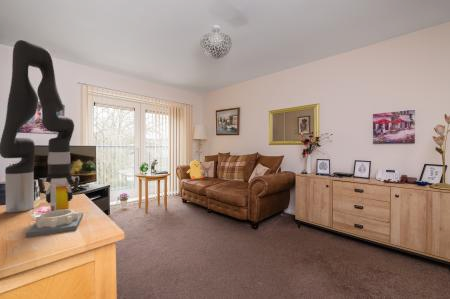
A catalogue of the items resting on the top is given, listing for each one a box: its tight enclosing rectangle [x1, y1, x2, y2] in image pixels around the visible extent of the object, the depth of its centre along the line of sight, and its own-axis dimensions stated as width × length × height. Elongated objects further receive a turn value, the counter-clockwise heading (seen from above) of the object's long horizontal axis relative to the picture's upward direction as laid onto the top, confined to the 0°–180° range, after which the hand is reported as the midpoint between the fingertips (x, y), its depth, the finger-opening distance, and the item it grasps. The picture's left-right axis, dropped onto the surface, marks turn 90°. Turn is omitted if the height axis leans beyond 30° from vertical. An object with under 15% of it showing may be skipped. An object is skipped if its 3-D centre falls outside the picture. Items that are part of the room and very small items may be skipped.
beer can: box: [49, 178, 70, 212], centre depth 88 cm, size 6×6×15 cm
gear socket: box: [25, 208, 84, 238], centre depth 77 cm, size 16×14×4 cm
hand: (59, 201), depth 88 cm, fingers closed on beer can, 6 cm apart
